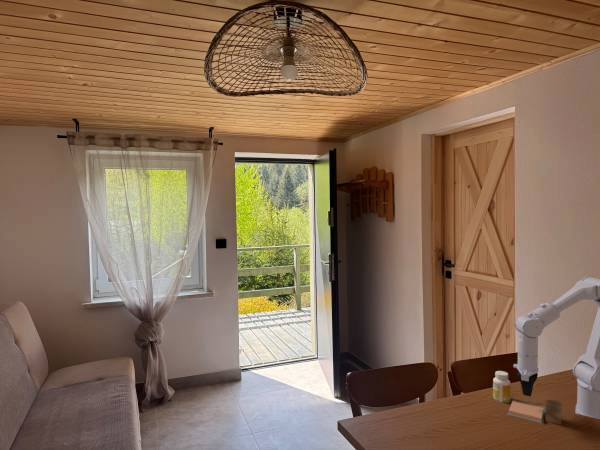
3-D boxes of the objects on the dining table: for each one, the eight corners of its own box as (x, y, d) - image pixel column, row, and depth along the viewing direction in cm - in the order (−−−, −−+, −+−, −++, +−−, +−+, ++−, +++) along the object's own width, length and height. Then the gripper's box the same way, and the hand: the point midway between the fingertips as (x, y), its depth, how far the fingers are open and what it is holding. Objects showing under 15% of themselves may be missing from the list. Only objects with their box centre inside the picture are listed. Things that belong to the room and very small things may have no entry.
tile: (543, 407, 132) (541, 418, 125) (543, 412, 132) (541, 422, 125) (512, 400, 137) (509, 410, 131) (512, 404, 137) (508, 414, 131)
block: (561, 421, 127) (561, 402, 127) (560, 427, 124) (561, 407, 124) (546, 417, 130) (546, 399, 130) (545, 423, 126) (545, 404, 126)
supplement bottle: (510, 399, 142) (511, 371, 142) (509, 405, 138) (509, 377, 138) (494, 395, 145) (494, 368, 145) (491, 401, 141) (492, 374, 140)
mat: (546, 408, 135) (546, 407, 135) (543, 426, 125) (543, 424, 125) (512, 401, 141) (512, 399, 141) (506, 416, 130) (506, 415, 130)
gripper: (516, 345, 140) (516, 384, 141) (510, 358, 128) (510, 400, 129) (540, 349, 136) (540, 389, 137) (536, 362, 124) (535, 406, 125)
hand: (527, 395), depth 133 cm, fingers closed
